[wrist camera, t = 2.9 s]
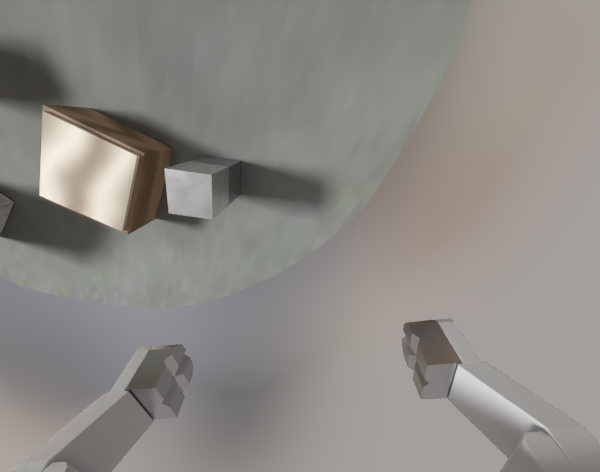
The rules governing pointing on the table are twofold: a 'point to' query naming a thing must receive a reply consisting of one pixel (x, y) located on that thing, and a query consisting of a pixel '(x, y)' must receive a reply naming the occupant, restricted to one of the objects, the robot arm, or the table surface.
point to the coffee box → (4, 210)
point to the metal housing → (202, 186)
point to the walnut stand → (101, 167)
